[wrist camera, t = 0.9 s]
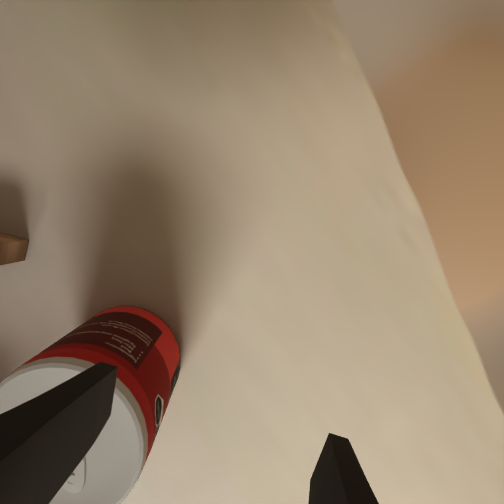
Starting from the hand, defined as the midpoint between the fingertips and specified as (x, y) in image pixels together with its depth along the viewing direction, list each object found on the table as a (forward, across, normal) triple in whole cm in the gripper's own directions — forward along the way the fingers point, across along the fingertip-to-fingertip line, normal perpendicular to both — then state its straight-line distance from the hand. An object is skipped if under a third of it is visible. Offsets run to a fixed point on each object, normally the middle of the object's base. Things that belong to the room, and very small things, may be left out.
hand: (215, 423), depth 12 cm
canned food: (+13, +8, +9) cm, 18 cm away
